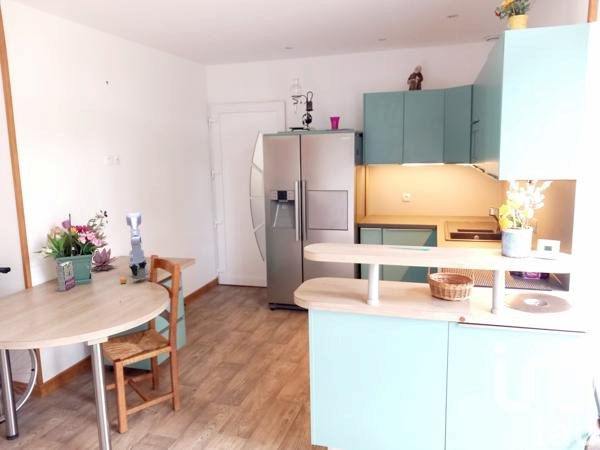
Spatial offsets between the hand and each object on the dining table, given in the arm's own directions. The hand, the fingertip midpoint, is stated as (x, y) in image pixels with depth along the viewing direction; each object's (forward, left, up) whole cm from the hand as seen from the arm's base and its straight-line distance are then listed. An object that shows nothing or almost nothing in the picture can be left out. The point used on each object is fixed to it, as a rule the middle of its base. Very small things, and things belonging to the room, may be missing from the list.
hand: (138, 274), depth 295 cm
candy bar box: (+27, -34, -5) cm, 44 cm away
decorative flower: (-18, -50, -5) cm, 53 cm away
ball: (+7, -7, -3) cm, 10 cm away
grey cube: (0, 0, -2) cm, 2 cm away
